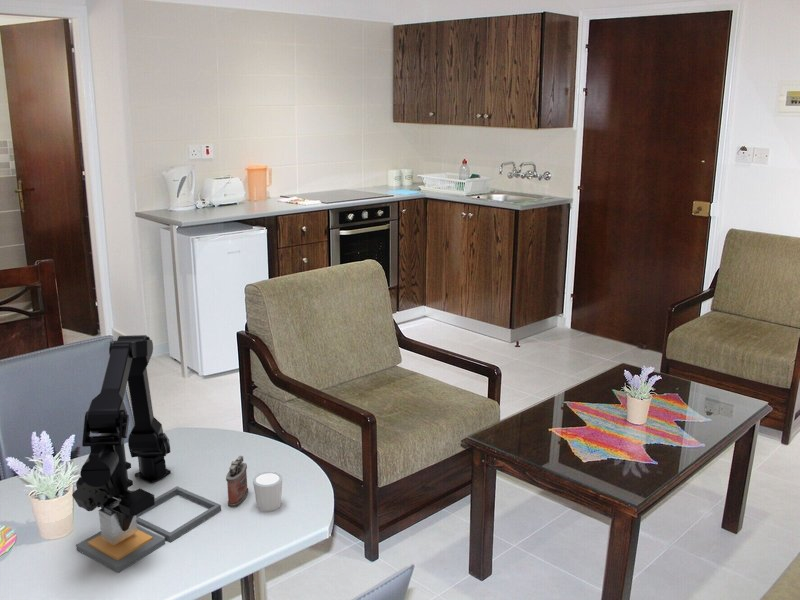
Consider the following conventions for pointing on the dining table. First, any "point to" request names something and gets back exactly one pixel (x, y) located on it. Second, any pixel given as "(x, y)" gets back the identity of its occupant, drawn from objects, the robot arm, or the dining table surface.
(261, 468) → the dining table surface
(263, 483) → the grey cup
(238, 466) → the red tin
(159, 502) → the gray square frame
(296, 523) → the dining table surface
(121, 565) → the lid
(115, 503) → the block
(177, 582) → the dining table surface
